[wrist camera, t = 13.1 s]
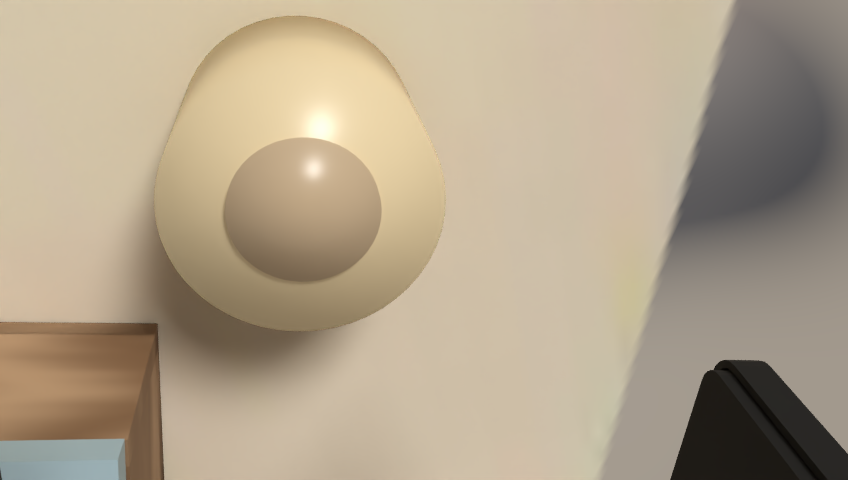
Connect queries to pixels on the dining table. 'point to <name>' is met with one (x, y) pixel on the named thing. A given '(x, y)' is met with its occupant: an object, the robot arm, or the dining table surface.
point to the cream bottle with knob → (298, 178)
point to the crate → (84, 387)
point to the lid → (63, 459)
